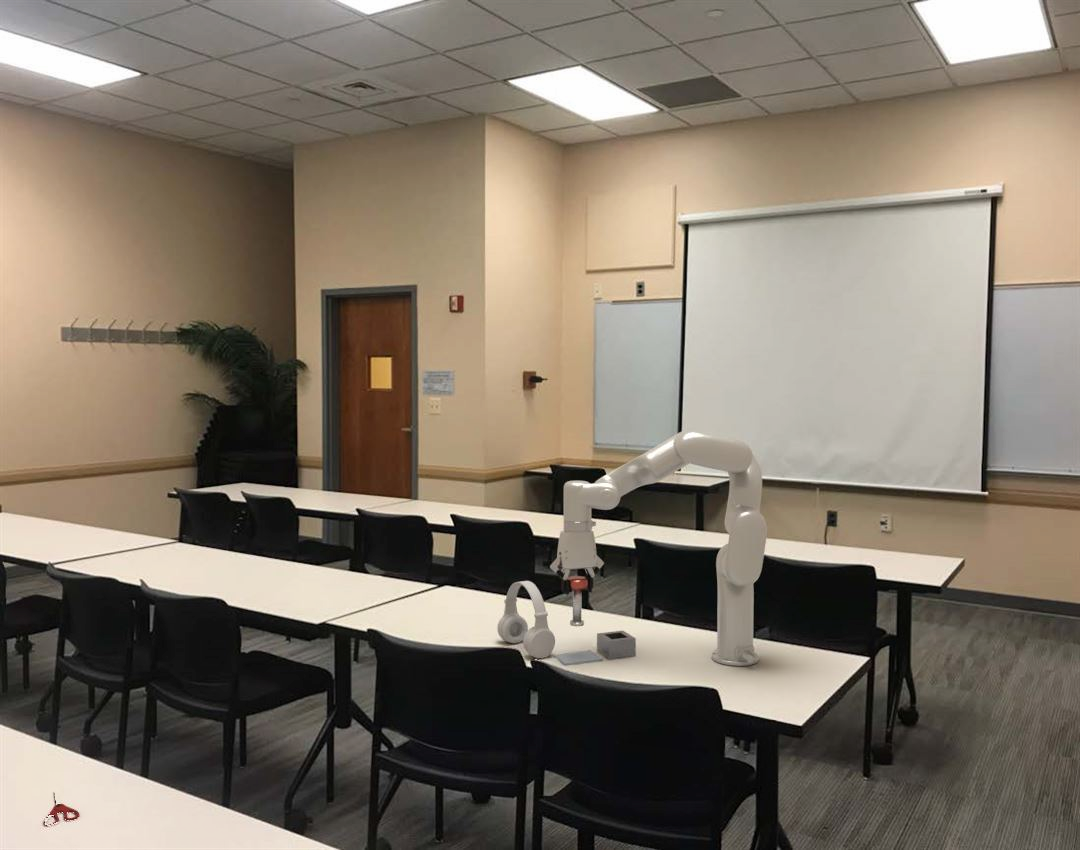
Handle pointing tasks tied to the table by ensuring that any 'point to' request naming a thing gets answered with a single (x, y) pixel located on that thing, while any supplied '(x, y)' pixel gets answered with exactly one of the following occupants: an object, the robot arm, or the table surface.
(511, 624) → the headphones
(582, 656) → the pad
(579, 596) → the red capped metal cylinder
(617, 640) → the eye block
